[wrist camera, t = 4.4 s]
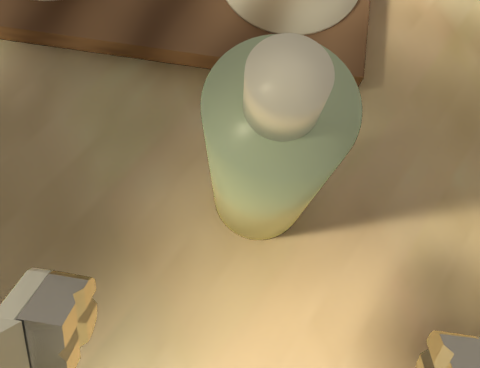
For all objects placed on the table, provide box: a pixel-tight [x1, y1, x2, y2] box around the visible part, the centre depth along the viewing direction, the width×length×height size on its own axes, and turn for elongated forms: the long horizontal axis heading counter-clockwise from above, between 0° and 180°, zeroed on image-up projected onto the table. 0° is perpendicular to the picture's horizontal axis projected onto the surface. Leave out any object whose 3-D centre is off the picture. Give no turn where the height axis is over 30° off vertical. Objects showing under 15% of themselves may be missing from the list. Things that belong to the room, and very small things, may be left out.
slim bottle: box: [200, 33, 362, 240], centre depth 19 cm, size 5×5×14 cm
